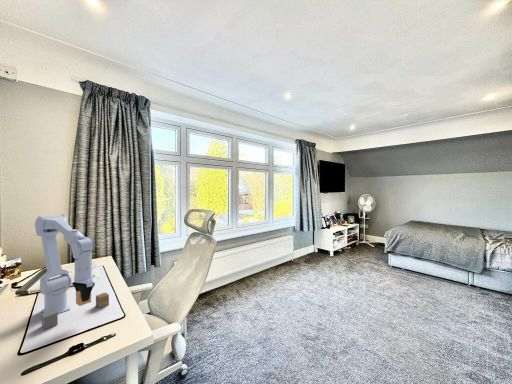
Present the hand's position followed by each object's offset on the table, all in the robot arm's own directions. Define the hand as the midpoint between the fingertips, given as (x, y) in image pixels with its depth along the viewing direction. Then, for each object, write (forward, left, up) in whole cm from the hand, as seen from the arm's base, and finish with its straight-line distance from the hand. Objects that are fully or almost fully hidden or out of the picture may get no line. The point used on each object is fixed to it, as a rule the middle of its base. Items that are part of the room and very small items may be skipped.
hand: (83, 299), depth 93 cm
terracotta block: (0, 0, -2) cm, 2 cm away
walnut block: (-8, +10, -10) cm, 16 cm away
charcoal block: (-8, -9, -10) cm, 15 cm away
